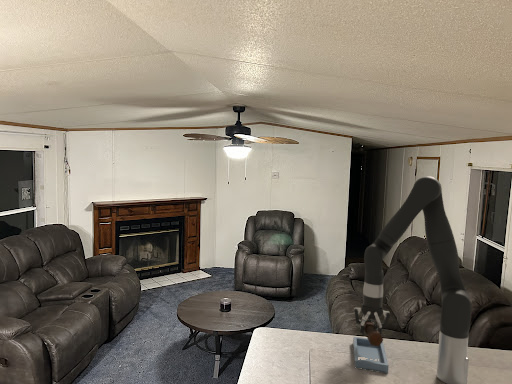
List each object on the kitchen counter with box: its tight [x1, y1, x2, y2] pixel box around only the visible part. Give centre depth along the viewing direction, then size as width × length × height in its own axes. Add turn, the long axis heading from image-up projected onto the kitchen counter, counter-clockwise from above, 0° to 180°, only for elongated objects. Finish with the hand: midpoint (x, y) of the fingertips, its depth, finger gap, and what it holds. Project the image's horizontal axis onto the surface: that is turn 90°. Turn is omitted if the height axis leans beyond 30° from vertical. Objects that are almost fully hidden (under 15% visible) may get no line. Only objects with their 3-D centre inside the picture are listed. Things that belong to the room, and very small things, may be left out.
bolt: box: [364, 320, 384, 346], centre depth 149 cm, size 6×5×15 cm
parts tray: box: [352, 336, 390, 374], centre depth 150 cm, size 12×21×3 cm, turn 167°
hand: (370, 334), depth 150 cm, fingers closed on bolt, 5 cm apart
